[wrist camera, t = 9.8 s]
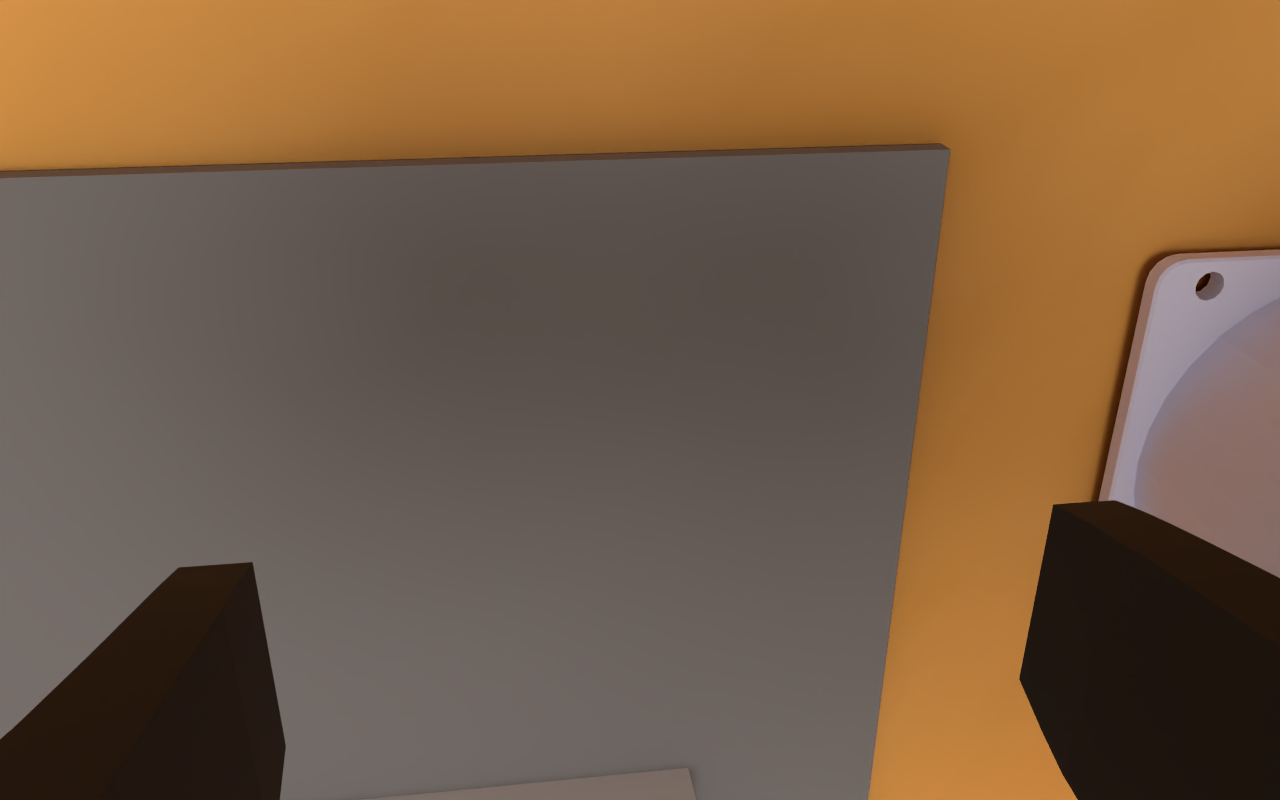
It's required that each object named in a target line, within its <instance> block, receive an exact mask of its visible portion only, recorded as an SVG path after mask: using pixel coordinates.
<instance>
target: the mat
mask: <svg viewBox="0 0 1280 800" xmlns="http://www.w3.org/2000/svg"><path fill="white" fill-rule="evenodd" d="M949 156H950V149H949V148H947V147H945V146H944V145H942V144H915V145H881V146H847V147H813V148H779V149H746V150H712V151H678V152H644V153H610V154H576V155H542V156H508V157H474V158H441V159H407V160H373V161H339V162H305V163H271V164H237V165H203V166H170V167H136V168H102V169H68V170H34V171H0V739H1V738H2V737H3V736H4V735H6V734H7V733H8V732H9V731H10V730H11V729H12V728H13V727H15V726H16V725H17V724H18V723H19V722H20V721H21V720H22V719H23V718H24V717H25V716H26V715H27V714H28V713H29V712H30V711H31V710H33V709H34V708H35V707H36V706H37V705H38V704H39V703H40V702H41V701H42V700H43V699H44V698H45V697H46V696H47V695H48V694H49V693H50V692H51V691H52V690H53V689H54V688H55V687H56V686H58V685H59V684H60V683H61V682H62V681H63V680H64V679H65V678H66V677H67V676H68V675H69V674H70V673H71V672H72V671H73V670H74V669H75V668H76V667H77V666H78V665H79V664H80V663H81V662H82V661H84V660H85V659H86V658H87V657H88V656H89V655H90V654H91V653H92V652H93V651H94V650H95V649H96V648H97V647H98V646H99V645H100V644H101V643H102V642H103V641H104V640H105V639H106V638H107V637H108V636H109V635H110V634H111V633H112V632H113V631H114V630H115V629H116V628H117V627H118V626H119V625H120V624H121V623H122V622H123V621H124V620H125V619H126V618H127V617H128V616H129V615H130V614H131V613H132V612H133V611H134V610H135V609H136V608H137V607H138V606H139V605H140V604H141V603H142V602H143V601H144V600H145V599H146V598H147V597H148V596H149V595H150V594H151V593H152V592H153V591H154V590H155V589H156V588H157V587H158V586H159V585H160V584H161V583H162V582H163V581H164V580H165V579H166V578H168V577H169V576H170V575H171V574H172V573H173V572H174V571H175V570H176V569H177V568H178V567H191V566H205V565H219V564H233V563H247V562H253V567H254V572H255V578H256V583H257V589H258V594H259V600H260V605H261V611H262V616H263V622H264V628H265V633H266V639H267V644H268V650H269V655H270V661H271V666H272V672H273V677H274V683H275V688H276V694H277V699H278V705H279V711H280V716H281V722H282V727H283V733H284V738H285V744H286V750H285V758H284V767H283V776H282V785H281V794H280V800H868V796H869V788H870V780H871V772H872V764H873V756H874V748H875V740H876V732H877V724H878V717H879V709H880V701H881V693H882V685H883V677H884V669H885V661H886V653H887V646H888V638H889V630H890V622H891V614H892V606H893V598H894V590H895V582H896V574H897V567H898V559H899V551H900V543H901V535H902V527H903V519H904V511H905V503H906V495H907V488H908V480H909V472H910V464H911V456H912V448H913V440H914V432H915V424H916V417H917V409H918V401H919V393H920V385H921V377H922V369H923V361H924V353H925V345H926V338H927V330H928V322H929V314H930V306H931V298H932V290H933V282H934V274H935V266H936V259H937V251H938V243H939V235H940V227H941V219H942V211H943V203H944V195H945V187H946V180H947V172H948V164H949Z"/></svg>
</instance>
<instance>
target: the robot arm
mask: <svg viewBox="0 0 1280 800" xmlns="http://www.w3.org/2000/svg"><path fill="white" fill-rule="evenodd" d="M1207 273H1211V278H1210V280H1209V282H1208V284H1207V286H1205V287H1204V288H1203V289H1202V290H1201V291H1197V292H1196V285H1197V283H1198V281H1199V279H1200V278H1202V277H1203V276H1204V275H1205V274H1207ZM1019 679H1020V681H1021V684H1022V686H1023V688H1024V691H1025V693H1026V695H1027V698H1028V700H1029V702H1030V705H1031V707H1032V709H1033V711H1034V714H1035V716H1036V718H1037V721H1038V723H1039V725H1040V728H1041V730H1042V732H1043V734H1044V736H1045V738H1046V741H1047V743H1048V745H1049V747H1050V749H1051V751H1052V753H1053V755H1054V757H1055V759H1056V761H1057V764H1058V766H1059V768H1060V770H1061V772H1062V774H1063V776H1064V777H1065V779H1066V781H1067V782H1068V784H1069V786H1070V787H1071V789H1072V791H1073V792H1074V794H1075V796H1076V797H1077V799H1078V800H1280V249H1276V250H1253V251H1230V252H1207V253H1184V254H1175V255H1171V256H1167V257H1166V258H1164V259H1162V260H1161V261H1159V262H1158V263H1157V264H1156V265H1155V266H1154V267H1153V269H1152V270H1151V271H1150V273H1149V275H1148V277H1147V280H1146V283H1145V287H1144V292H1143V297H1142V301H1141V306H1140V311H1139V315H1138V320H1137V324H1136V329H1135V334H1134V338H1133V343H1132V348H1131V352H1130V357H1129V362H1128V366H1127V371H1126V375H1125V380H1124V385H1123V389H1122V394H1121V399H1120V403H1119V408H1118V413H1117V417H1116V422H1115V426H1114V431H1113V436H1112V440H1111V445H1110V450H1109V454H1108V459H1107V463H1106V468H1105V473H1104V477H1103V482H1102V487H1101V491H1100V496H1099V501H1097V502H1083V503H1069V504H1055V505H1053V509H1052V514H1051V519H1050V524H1049V530H1048V535H1047V540H1046V545H1045V550H1044V555H1043V560H1042V565H1041V571H1040V576H1039V581H1038V586H1037V591H1036V596H1035V601H1034V606H1033V612H1032V617H1031V622H1030V627H1029V632H1028V637H1027V642H1026V647H1025V652H1024V658H1023V663H1022V668H1021V673H1020V678H1019ZM285 750H286V744H285V738H284V733H283V727H282V722H281V716H280V711H279V705H278V699H277V694H276V688H275V683H274V677H273V672H272V666H271V661H270V655H269V650H268V644H267V639H266V633H265V628H264V622H263V616H262V611H261V605H260V600H259V594H258V589H257V583H256V578H255V572H254V567H253V562H247V563H233V564H219V565H205V566H191V567H178V568H177V569H176V570H175V571H174V572H173V573H172V574H171V575H170V576H169V577H168V578H166V579H165V580H164V581H163V582H162V583H161V584H160V585H159V586H158V587H157V588H156V589H155V590H154V591H153V592H152V593H151V594H150V595H149V596H148V597H147V598H146V599H145V600H144V601H143V602H142V603H141V604H140V605H139V606H138V607H137V608H136V609H135V610H134V611H133V612H132V613H131V614H130V615H129V616H128V617H127V618H126V619H125V620H124V621H123V622H122V623H121V624H120V625H119V626H118V627H117V628H116V629H115V630H114V631H113V632H112V633H111V634H110V635H109V636H108V637H107V638H106V639H105V640H104V641H103V642H102V643H101V644H100V645H99V646H98V647H97V648H96V649H95V650H94V651H93V652H92V653H91V654H90V655H89V656H88V657H87V658H86V659H85V660H84V661H82V662H81V663H80V664H79V665H78V666H77V667H76V668H75V669H74V670H73V671H72V672H71V673H70V674H69V675H68V676H67V677H66V678H65V679H64V680H63V681H62V682H61V683H60V684H59V685H58V686H56V687H55V688H54V689H53V690H52V691H51V692H50V693H49V694H48V695H47V696H46V697H45V698H44V699H43V700H42V701H41V702H40V703H39V704H38V705H37V706H36V707H35V708H34V709H33V710H31V711H30V712H29V713H28V714H27V715H26V716H25V717H24V718H23V719H22V720H21V721H20V722H19V723H18V724H17V725H16V726H15V727H13V728H12V729H11V730H10V731H9V732H8V733H7V734H6V735H4V736H3V737H2V738H1V739H0V800H280V794H281V785H282V776H283V767H284V758H285Z"/></svg>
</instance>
